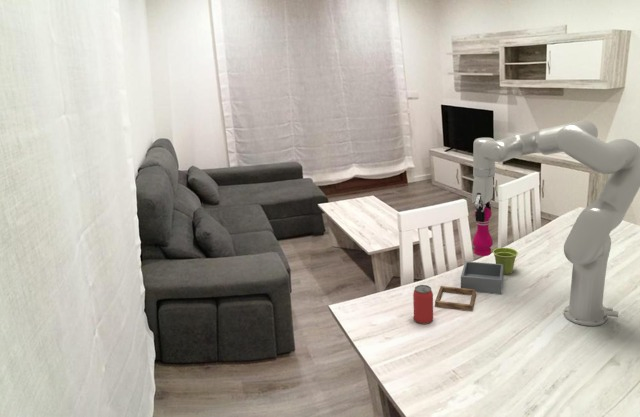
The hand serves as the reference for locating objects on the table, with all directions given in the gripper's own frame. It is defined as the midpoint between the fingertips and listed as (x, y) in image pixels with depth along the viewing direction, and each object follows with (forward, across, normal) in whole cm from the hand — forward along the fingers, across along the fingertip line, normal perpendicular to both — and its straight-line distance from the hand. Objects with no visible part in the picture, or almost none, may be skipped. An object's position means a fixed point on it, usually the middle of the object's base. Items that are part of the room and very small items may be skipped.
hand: (483, 218), depth 181 cm
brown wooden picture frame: (+27, +17, -4) cm, 32 cm away
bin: (+27, -1, 0) cm, 27 cm away
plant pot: (+28, -16, +4) cm, 32 cm away
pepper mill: (+14, 0, 0) cm, 14 cm away
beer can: (+28, +35, -8) cm, 45 cm away
